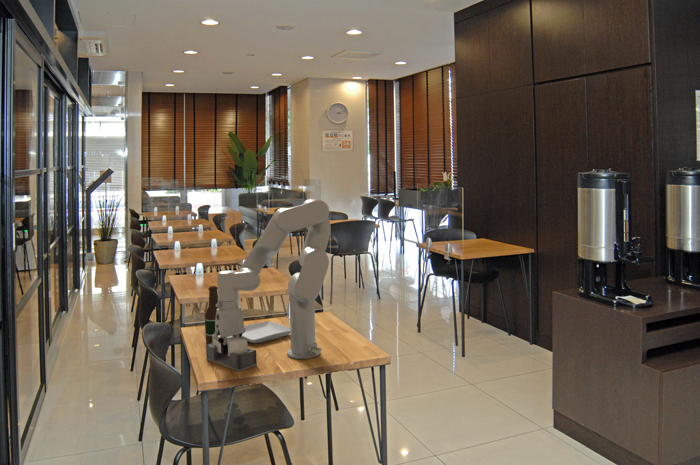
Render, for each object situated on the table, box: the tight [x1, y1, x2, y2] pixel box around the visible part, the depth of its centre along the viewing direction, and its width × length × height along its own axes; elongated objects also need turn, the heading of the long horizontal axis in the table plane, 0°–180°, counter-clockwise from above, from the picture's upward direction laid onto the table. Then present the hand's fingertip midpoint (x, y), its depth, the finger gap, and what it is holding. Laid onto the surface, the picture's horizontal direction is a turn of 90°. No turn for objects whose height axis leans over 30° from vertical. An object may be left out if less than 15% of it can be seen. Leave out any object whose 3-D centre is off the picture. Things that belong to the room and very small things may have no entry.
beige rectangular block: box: [212, 335, 248, 356], centre depth 205 cm, size 16×4×6 cm, turn 48°
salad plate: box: [241, 320, 290, 344], centre depth 239 cm, size 21×21×3 cm
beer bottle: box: [204, 285, 218, 346], centre depth 228 cm, size 8×8×24 cm
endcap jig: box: [205, 343, 258, 372], centre depth 205 cm, size 20×8×6 cm, turn 48°
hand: (230, 352), depth 205 cm, fingers closed on beige rectangular block, 4 cm apart
